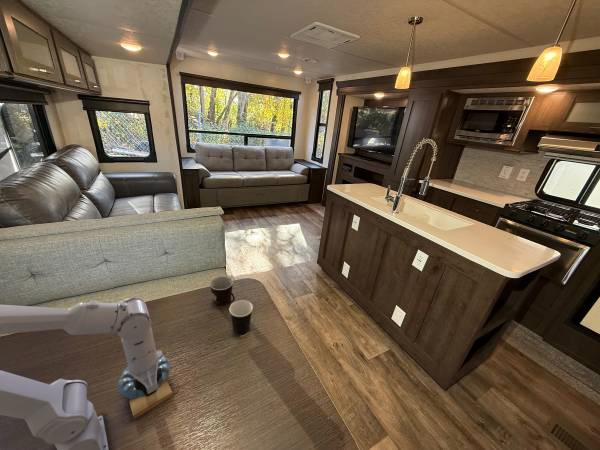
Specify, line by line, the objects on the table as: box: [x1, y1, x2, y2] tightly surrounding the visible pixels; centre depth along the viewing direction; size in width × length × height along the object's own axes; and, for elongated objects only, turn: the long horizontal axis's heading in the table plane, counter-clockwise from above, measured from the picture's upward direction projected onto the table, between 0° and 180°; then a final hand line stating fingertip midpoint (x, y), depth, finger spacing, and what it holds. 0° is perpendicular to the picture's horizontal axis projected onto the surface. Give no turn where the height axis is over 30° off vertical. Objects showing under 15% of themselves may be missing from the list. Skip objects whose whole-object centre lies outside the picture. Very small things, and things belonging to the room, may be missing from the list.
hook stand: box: [128, 378, 173, 420], centre depth 66 cm, size 9×9×6 cm
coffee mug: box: [209, 275, 236, 307], centre depth 97 cm, size 12×9×10 cm
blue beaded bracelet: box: [117, 356, 171, 399], centre depth 64 cm, size 11×11×3 cm
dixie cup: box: [228, 299, 254, 338], centre depth 86 cm, size 8×8×11 cm
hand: (149, 387), depth 61 cm, fingers closed on blue beaded bracelet, 3 cm apart
